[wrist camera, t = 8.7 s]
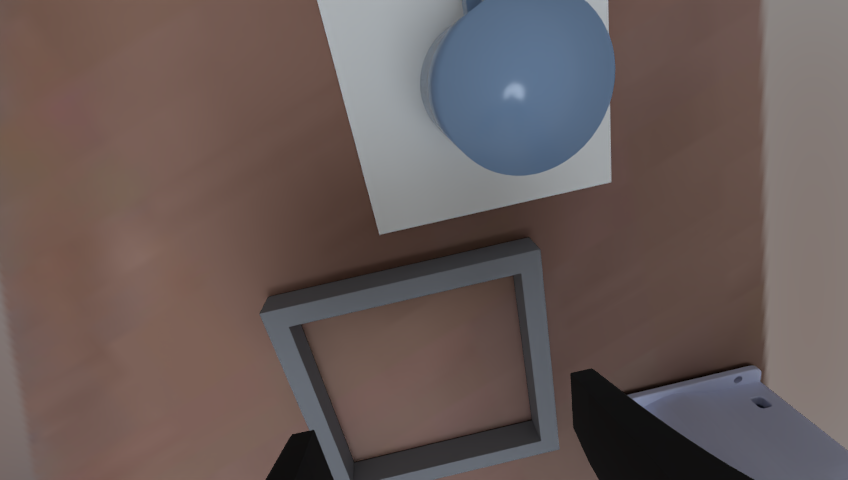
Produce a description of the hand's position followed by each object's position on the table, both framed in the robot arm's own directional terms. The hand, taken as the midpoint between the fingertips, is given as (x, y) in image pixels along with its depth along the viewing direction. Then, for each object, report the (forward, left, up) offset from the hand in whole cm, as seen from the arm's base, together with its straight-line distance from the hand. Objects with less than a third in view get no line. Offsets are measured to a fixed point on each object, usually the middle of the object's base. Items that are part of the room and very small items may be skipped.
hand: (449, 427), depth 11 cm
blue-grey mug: (-4, -8, -9) cm, 13 cm away
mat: (-4, -8, -9) cm, 13 cm away
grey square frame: (+1, +6, -9) cm, 11 cm away
